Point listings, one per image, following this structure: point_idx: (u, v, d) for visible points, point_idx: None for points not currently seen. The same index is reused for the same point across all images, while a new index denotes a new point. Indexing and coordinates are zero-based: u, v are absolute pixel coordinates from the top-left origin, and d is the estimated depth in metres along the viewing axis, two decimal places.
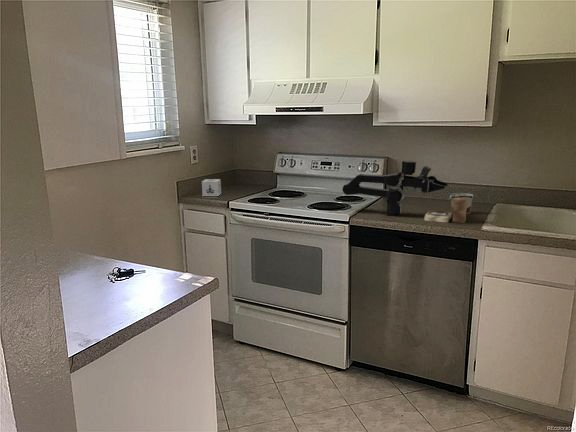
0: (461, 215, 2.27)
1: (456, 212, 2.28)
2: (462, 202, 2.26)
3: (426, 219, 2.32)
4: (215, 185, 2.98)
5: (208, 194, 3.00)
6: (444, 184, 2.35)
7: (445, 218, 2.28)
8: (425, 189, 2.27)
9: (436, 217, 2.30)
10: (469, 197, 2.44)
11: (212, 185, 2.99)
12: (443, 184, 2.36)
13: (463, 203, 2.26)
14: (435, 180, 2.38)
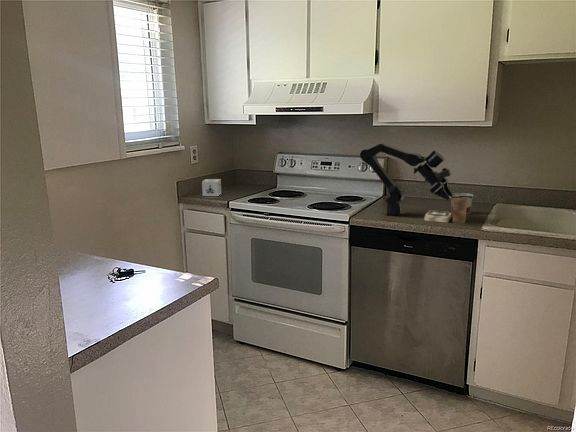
0: (461, 215, 2.27)
1: (456, 212, 2.28)
2: (462, 202, 2.26)
3: (426, 219, 2.32)
4: (215, 185, 2.99)
5: (208, 194, 3.00)
6: (449, 194, 2.34)
7: (445, 218, 2.28)
8: (433, 190, 2.24)
9: (436, 217, 2.30)
10: (469, 197, 2.44)
11: (212, 185, 2.99)
12: (449, 193, 2.35)
13: (463, 203, 2.26)
14: (445, 185, 2.35)
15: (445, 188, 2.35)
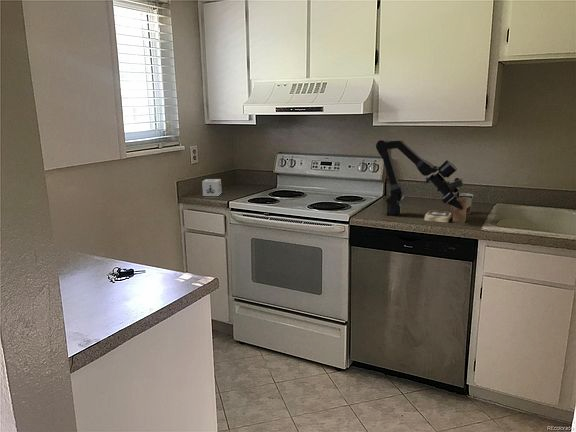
0: (461, 215, 2.27)
1: (456, 212, 2.28)
2: (462, 202, 2.26)
3: (426, 219, 2.32)
4: (215, 185, 2.99)
5: (208, 194, 3.00)
6: None
7: (445, 218, 2.28)
8: (446, 200, 2.22)
9: (436, 217, 2.30)
10: (469, 197, 2.44)
11: (212, 185, 2.99)
12: None
13: (463, 203, 2.25)
14: (457, 195, 2.32)
15: None
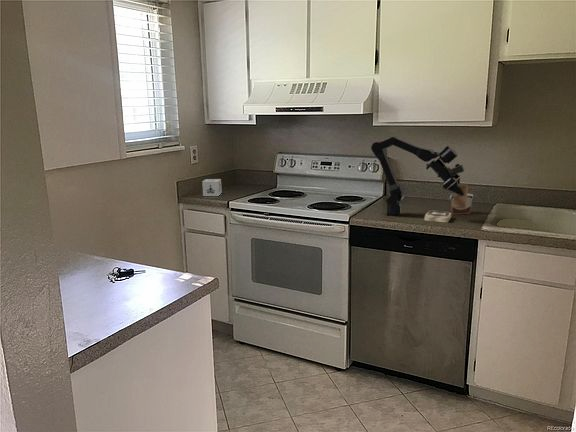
0: (461, 201, 2.26)
1: (457, 198, 2.26)
2: (463, 188, 2.24)
3: (426, 219, 2.32)
4: (216, 185, 2.99)
5: (209, 194, 3.00)
6: None
7: (445, 218, 2.28)
8: (447, 186, 2.21)
9: (436, 217, 2.30)
10: (469, 197, 2.44)
11: (213, 185, 2.99)
12: None
13: (464, 189, 2.24)
14: (457, 181, 2.30)
15: None
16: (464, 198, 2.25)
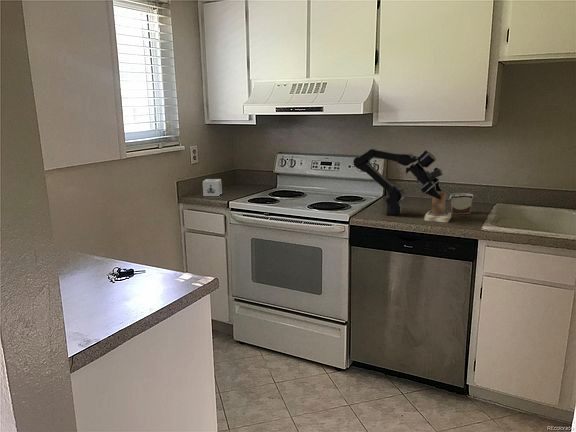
0: (440, 208, 2.31)
1: (435, 205, 2.32)
2: (441, 195, 2.29)
3: (426, 219, 2.32)
4: (216, 185, 2.99)
5: (209, 194, 3.01)
6: None
7: (445, 218, 2.28)
8: (425, 190, 2.26)
9: (436, 217, 2.30)
10: (469, 197, 2.44)
11: (213, 185, 2.99)
12: None
13: (442, 196, 2.29)
14: (437, 185, 2.36)
15: (437, 188, 2.37)
16: (442, 205, 2.30)
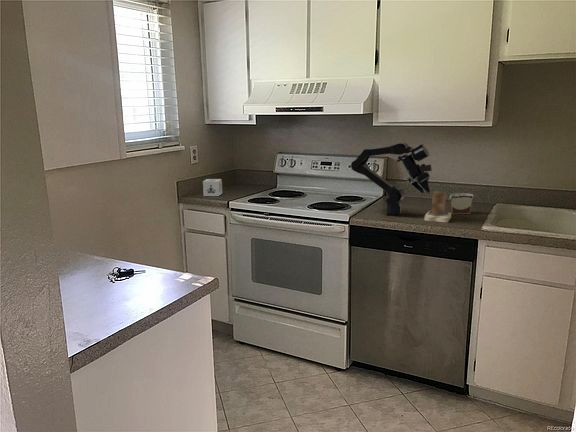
0: (440, 208, 2.31)
1: (435, 205, 2.32)
2: (441, 195, 2.29)
3: (426, 219, 2.32)
4: (216, 185, 2.99)
5: (209, 194, 3.01)
6: (421, 190, 2.41)
7: (445, 218, 2.28)
8: (421, 179, 2.27)
9: (436, 217, 2.30)
10: (469, 197, 2.44)
11: (213, 185, 2.99)
12: (420, 189, 2.41)
13: (442, 196, 2.29)
14: None
15: (418, 184, 2.42)
16: (442, 205, 2.30)
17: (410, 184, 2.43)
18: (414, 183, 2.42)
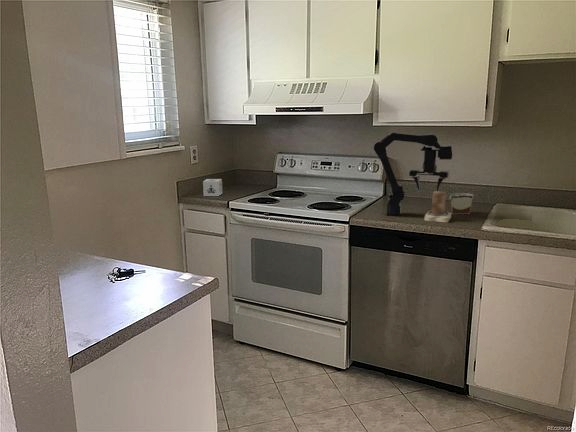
0: (440, 208, 2.31)
1: (435, 205, 2.32)
2: (441, 195, 2.29)
3: (426, 219, 2.32)
4: (216, 185, 2.99)
5: (209, 194, 3.01)
6: (419, 187, 2.42)
7: (445, 218, 2.28)
8: (447, 176, 2.33)
9: (436, 217, 2.30)
10: (469, 197, 2.44)
11: (213, 185, 2.99)
12: (419, 186, 2.42)
13: (442, 196, 2.29)
14: (419, 177, 2.42)
15: (418, 180, 2.41)
16: (442, 205, 2.30)
17: (414, 177, 2.39)
18: (418, 178, 2.40)
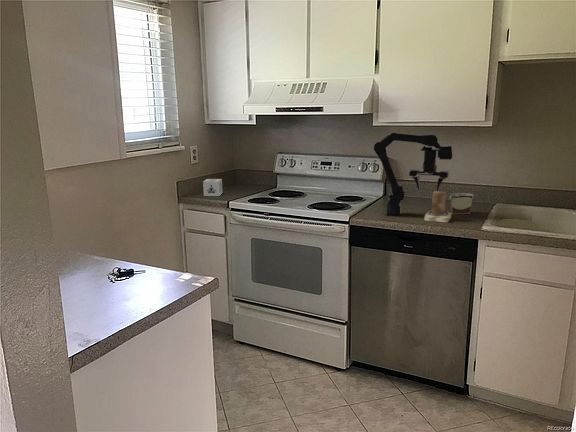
0: (440, 208, 2.31)
1: (435, 205, 2.32)
2: (441, 195, 2.29)
3: (426, 219, 2.32)
4: (216, 185, 2.99)
5: (209, 194, 3.01)
6: (419, 187, 2.42)
7: (445, 218, 2.28)
8: (447, 176, 2.33)
9: (436, 217, 2.30)
10: (469, 197, 2.44)
11: (213, 185, 2.99)
12: (419, 186, 2.42)
13: (442, 196, 2.29)
14: (419, 177, 2.42)
15: (418, 180, 2.41)
16: (442, 205, 2.30)
17: (414, 177, 2.39)
18: (418, 178, 2.40)
